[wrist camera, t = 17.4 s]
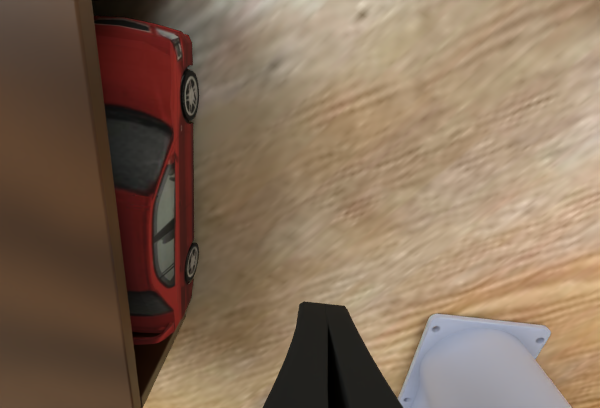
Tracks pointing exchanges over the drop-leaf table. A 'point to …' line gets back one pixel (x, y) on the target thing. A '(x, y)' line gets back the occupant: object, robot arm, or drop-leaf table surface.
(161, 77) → the toy car
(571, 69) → the drop-leaf table surface
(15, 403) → the cabinet
